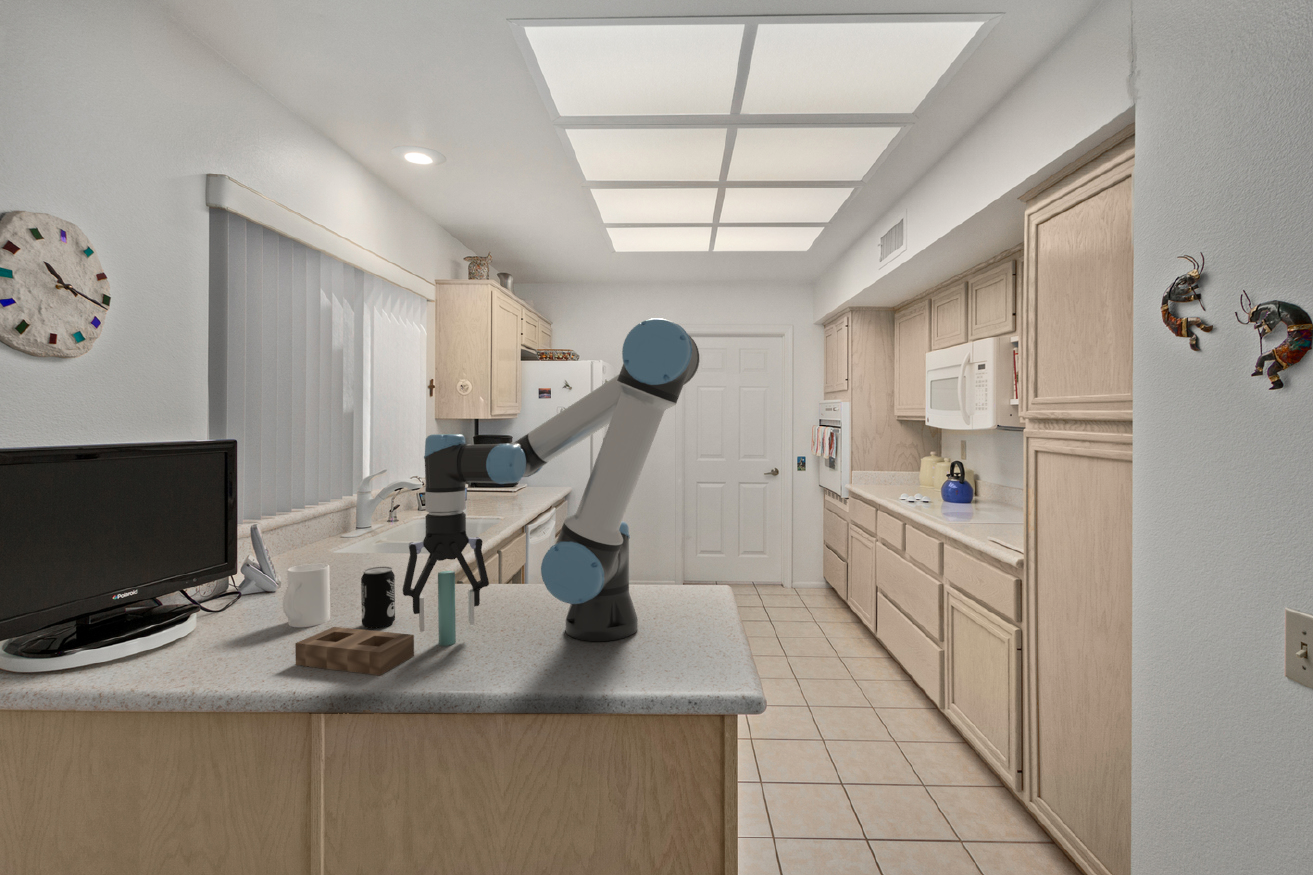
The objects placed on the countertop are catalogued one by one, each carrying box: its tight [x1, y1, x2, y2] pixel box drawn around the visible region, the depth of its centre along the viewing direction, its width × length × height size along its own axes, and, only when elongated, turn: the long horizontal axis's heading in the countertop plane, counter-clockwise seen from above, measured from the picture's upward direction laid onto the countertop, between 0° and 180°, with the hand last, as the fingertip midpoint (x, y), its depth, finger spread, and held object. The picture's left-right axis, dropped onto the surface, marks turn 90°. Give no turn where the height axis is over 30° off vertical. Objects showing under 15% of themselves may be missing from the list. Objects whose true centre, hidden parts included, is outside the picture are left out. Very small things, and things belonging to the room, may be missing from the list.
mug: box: [282, 562, 331, 628], centre depth 131 cm, size 8×12×12 cm
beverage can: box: [360, 566, 396, 630], centre depth 130 cm, size 7×7×12 cm
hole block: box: [294, 626, 415, 676], centre depth 110 cm, size 18×9×4 cm, turn 75°
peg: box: [437, 570, 457, 647], centre depth 119 cm, size 3×3×14 cm
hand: (447, 625), depth 119 cm, fingers open, 9 cm apart
